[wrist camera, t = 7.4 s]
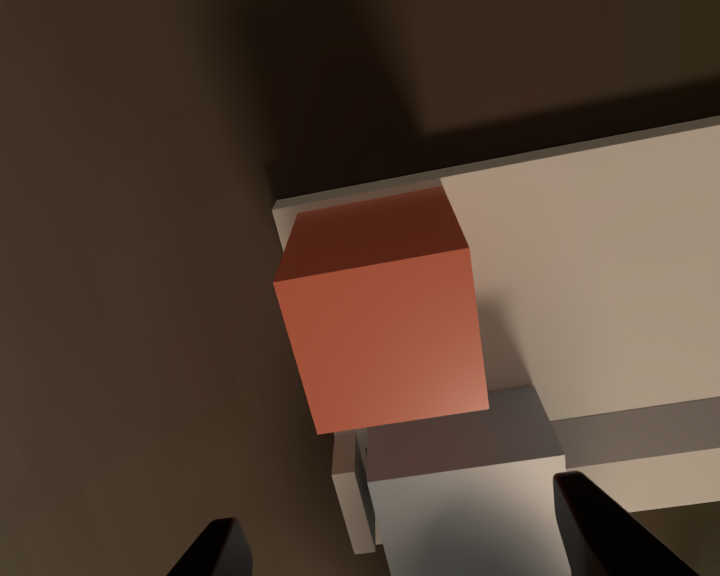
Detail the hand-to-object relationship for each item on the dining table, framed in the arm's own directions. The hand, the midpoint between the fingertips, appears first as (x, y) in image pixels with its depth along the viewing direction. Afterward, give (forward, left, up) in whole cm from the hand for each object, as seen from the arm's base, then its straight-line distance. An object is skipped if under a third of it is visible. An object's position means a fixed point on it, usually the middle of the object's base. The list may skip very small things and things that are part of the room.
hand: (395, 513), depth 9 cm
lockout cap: (0, 0, -10) cm, 10 cm away
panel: (-6, +5, -11) cm, 13 cm away
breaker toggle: (-2, +9, -10) cm, 13 cm away
